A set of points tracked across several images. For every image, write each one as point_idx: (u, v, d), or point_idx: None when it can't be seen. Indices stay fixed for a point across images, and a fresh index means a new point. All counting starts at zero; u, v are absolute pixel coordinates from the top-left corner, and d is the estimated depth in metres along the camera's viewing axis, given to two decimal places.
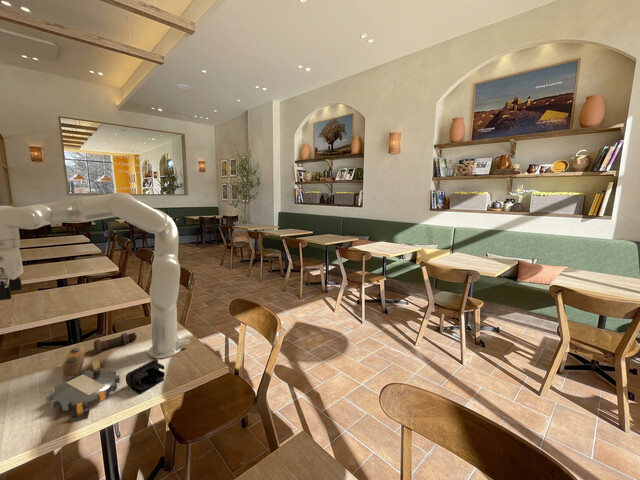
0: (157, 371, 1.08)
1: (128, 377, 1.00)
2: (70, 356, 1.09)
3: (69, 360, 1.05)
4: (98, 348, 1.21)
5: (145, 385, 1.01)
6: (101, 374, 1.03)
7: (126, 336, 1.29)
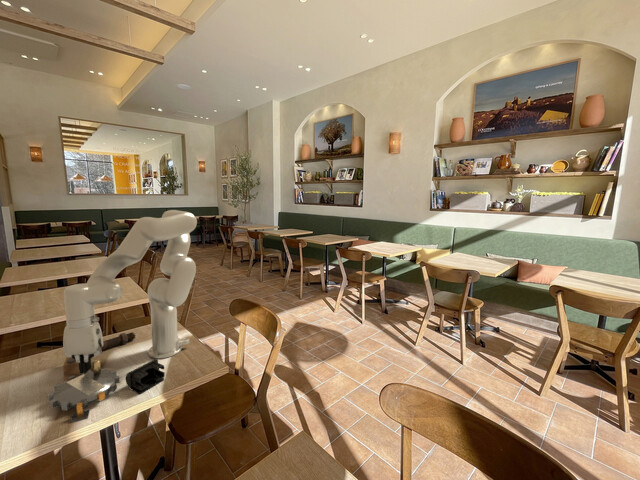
0: (157, 371, 1.08)
1: (128, 377, 1.00)
2: None
3: (69, 360, 1.05)
4: None
5: (145, 385, 1.01)
6: (101, 374, 1.03)
7: (125, 336, 1.29)
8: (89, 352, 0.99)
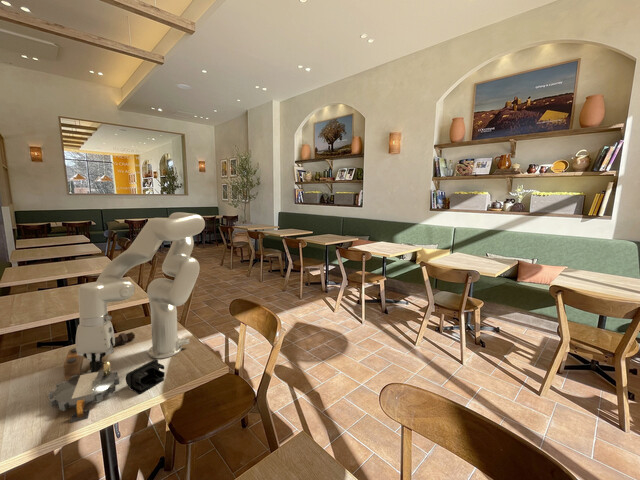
0: (157, 371, 1.08)
1: (128, 377, 1.00)
2: (70, 356, 1.09)
3: (70, 360, 1.05)
4: None
5: (145, 385, 1.01)
6: (107, 377, 1.01)
7: (125, 335, 1.30)
8: (101, 351, 0.99)
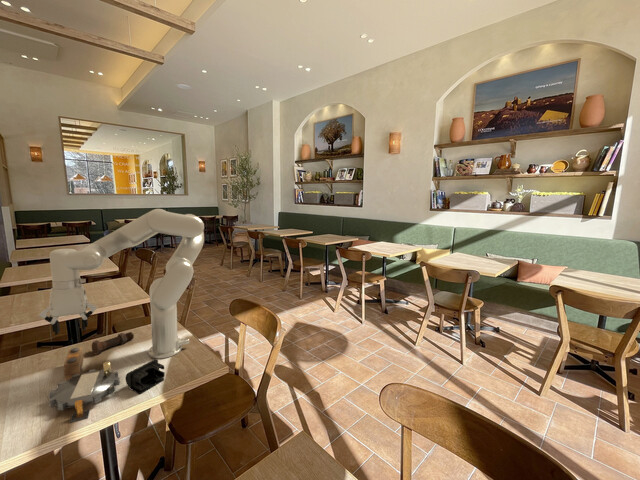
0: (157, 371, 1.08)
1: (128, 377, 1.00)
2: (70, 356, 1.09)
3: (70, 360, 1.05)
4: (99, 349, 1.20)
5: (145, 385, 1.01)
6: (107, 378, 1.01)
7: (124, 335, 1.30)
8: (78, 312, 1.06)
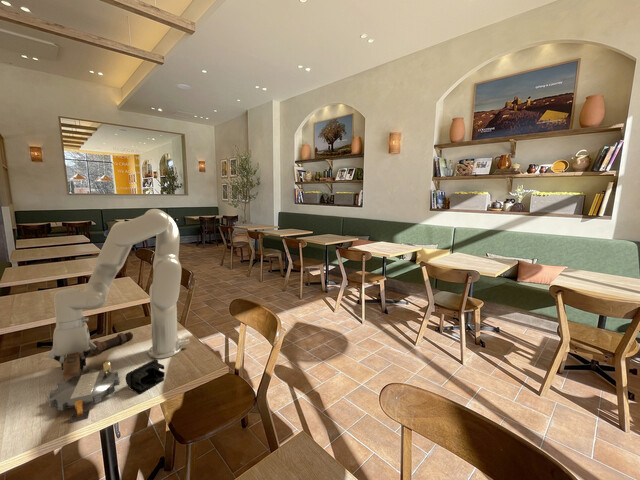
0: (157, 371, 1.08)
1: (128, 377, 1.00)
2: (69, 356, 1.09)
3: (69, 360, 1.05)
4: (99, 349, 1.20)
5: (145, 385, 1.01)
6: (107, 378, 1.01)
7: (123, 335, 1.30)
8: (81, 350, 1.08)
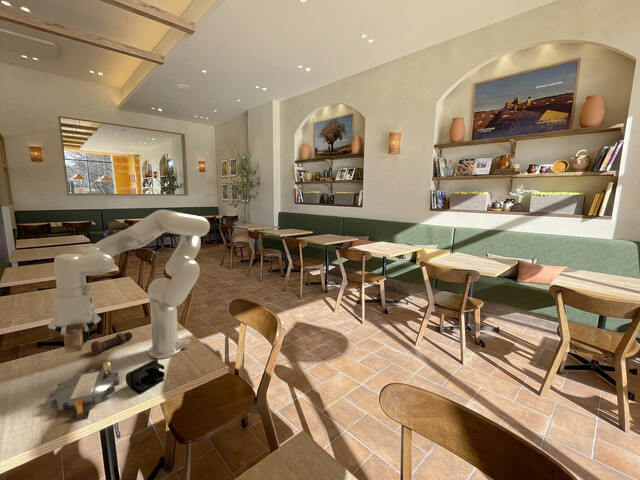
0: (157, 371, 1.08)
1: (128, 377, 1.00)
2: (72, 327, 1.00)
3: (71, 331, 0.96)
4: (99, 349, 1.20)
5: (145, 385, 1.01)
6: (107, 378, 1.01)
7: (123, 335, 1.30)
8: (84, 321, 0.99)
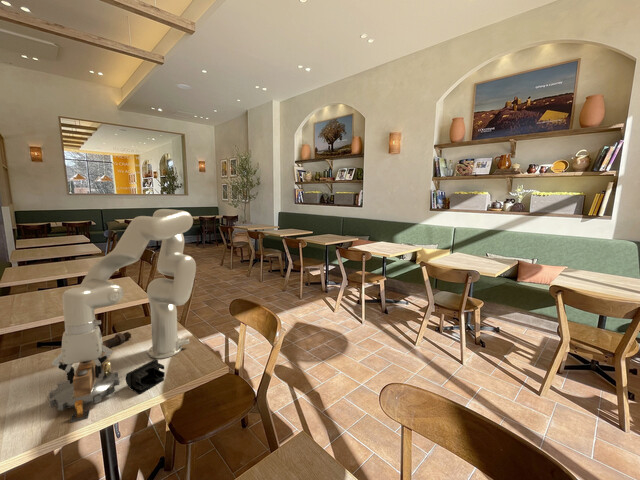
0: (157, 371, 1.08)
1: (128, 377, 1.00)
2: (81, 367, 0.96)
3: (80, 373, 0.92)
4: None
5: (145, 385, 1.01)
6: (107, 378, 1.01)
7: (122, 335, 1.30)
8: (93, 357, 0.95)
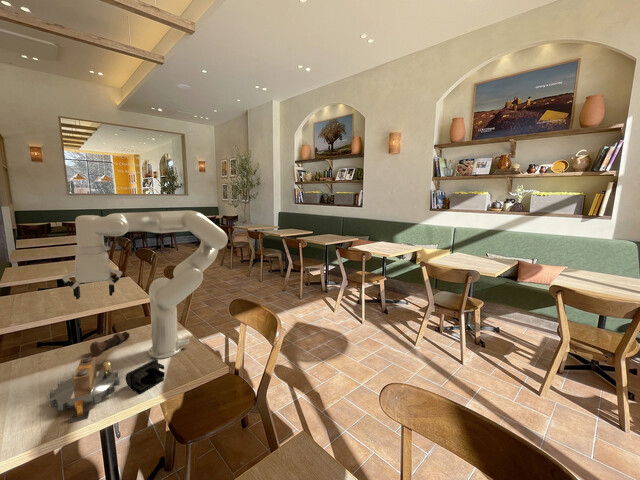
0: (157, 371, 1.08)
1: (128, 377, 1.00)
2: (81, 367, 0.96)
3: (80, 373, 0.92)
4: (100, 349, 1.20)
5: (145, 385, 1.01)
6: (107, 378, 1.01)
7: (121, 335, 1.30)
8: (102, 279, 1.07)
